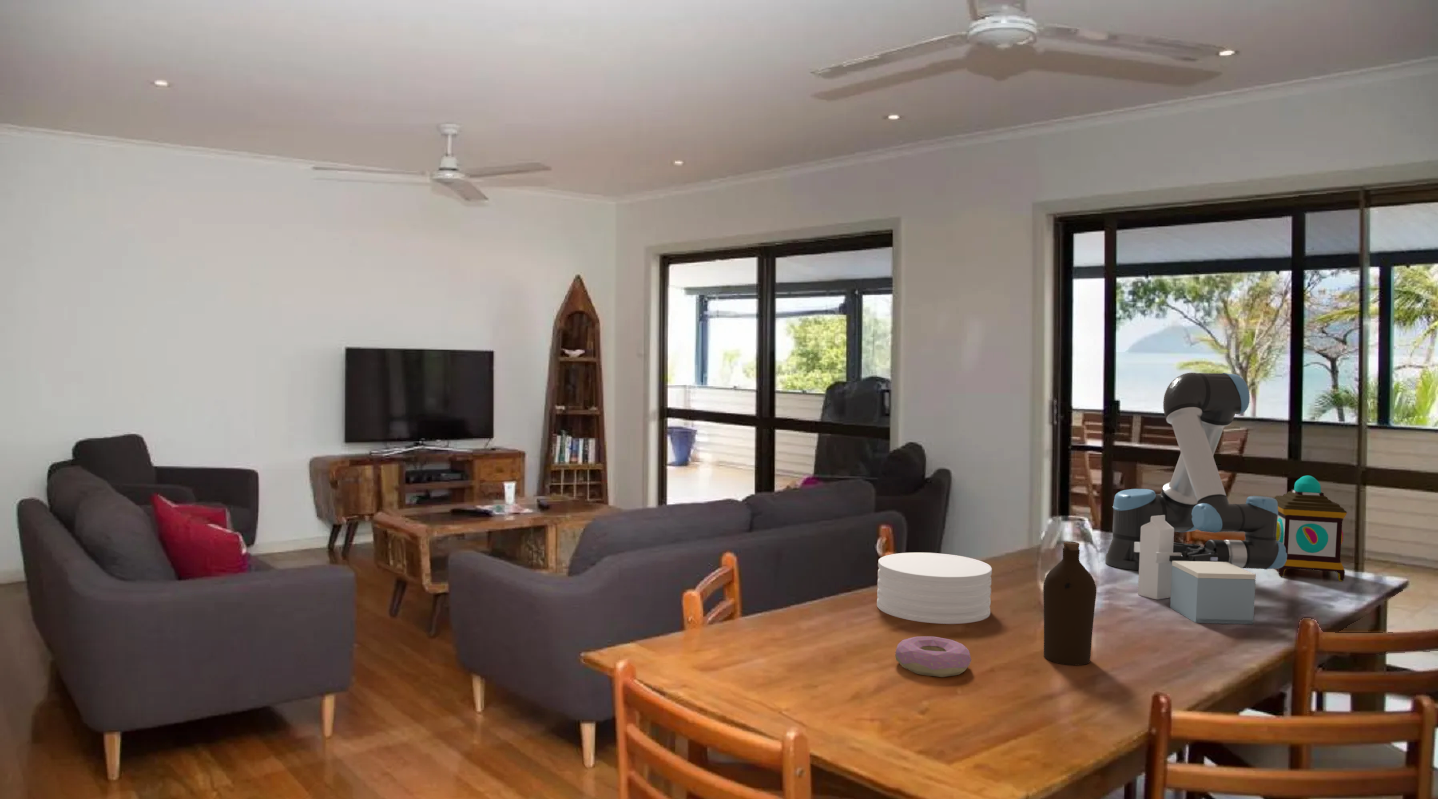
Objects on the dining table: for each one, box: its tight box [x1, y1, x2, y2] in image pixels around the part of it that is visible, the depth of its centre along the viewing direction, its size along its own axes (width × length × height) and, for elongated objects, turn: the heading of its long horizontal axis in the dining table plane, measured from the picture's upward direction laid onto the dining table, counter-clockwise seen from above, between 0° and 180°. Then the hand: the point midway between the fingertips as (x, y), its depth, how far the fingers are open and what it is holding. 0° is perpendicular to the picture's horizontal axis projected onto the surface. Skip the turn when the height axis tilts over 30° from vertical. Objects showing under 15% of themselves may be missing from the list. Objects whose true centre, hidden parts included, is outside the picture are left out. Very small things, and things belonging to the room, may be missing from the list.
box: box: [1169, 566, 1257, 625], centre depth 248 cm, size 14×14×11 cm
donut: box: [894, 635, 972, 678], centre depth 203 cm, size 16×15×5 cm
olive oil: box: [1042, 540, 1097, 666], centre depth 210 cm, size 11×11×25 cm
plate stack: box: [876, 552, 993, 625], centre depth 249 cm, size 28×28×12 cm
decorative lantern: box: [1273, 475, 1348, 582], centre depth 299 cm, size 20×20×30 cm
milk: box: [1137, 515, 1175, 600], centre depth 267 cm, size 6×6×22 cm
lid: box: [1172, 561, 1257, 580], centre depth 248 cm, size 14×14×1 cm
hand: (1144, 552), depth 267 cm, fingers open, 13 cm apart
